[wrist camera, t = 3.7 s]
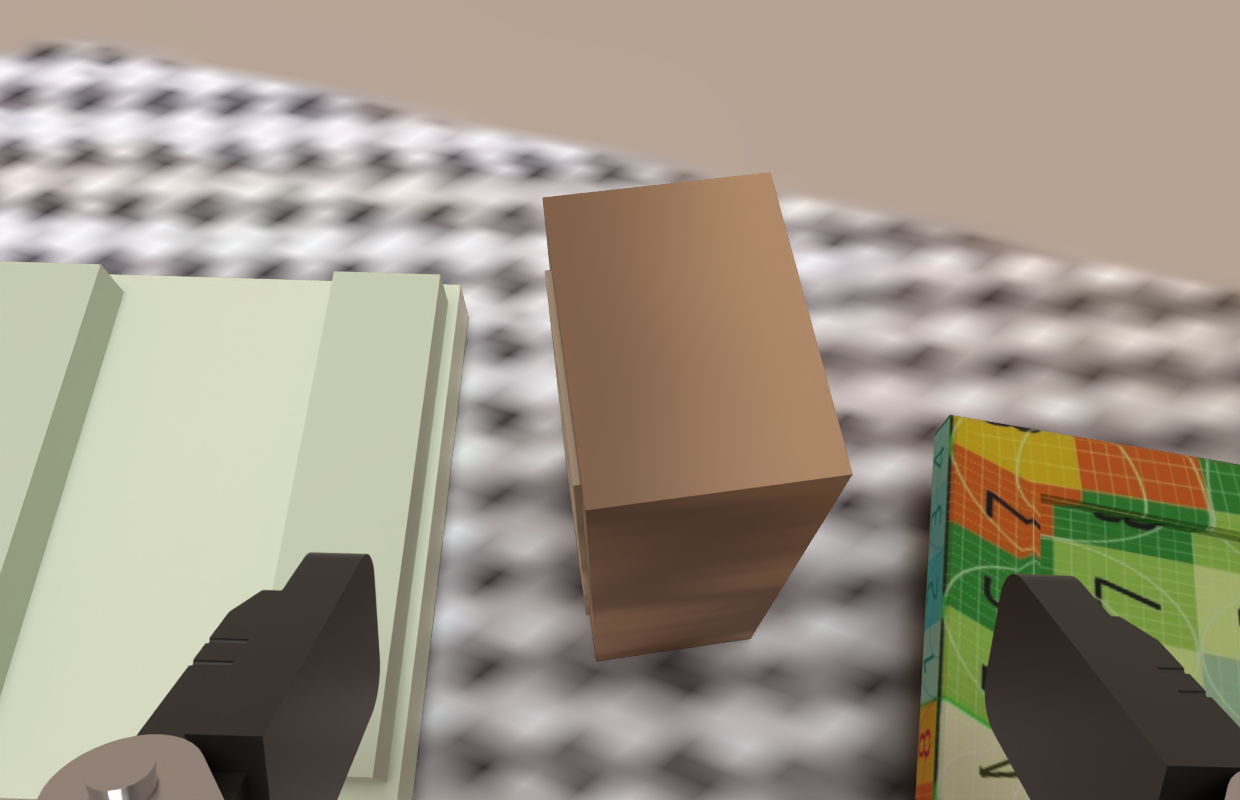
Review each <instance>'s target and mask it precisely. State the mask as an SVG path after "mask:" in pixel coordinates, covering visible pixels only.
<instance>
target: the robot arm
mask: <svg viewBox="0 0 1240 800" xmlns="http://www.w3.org/2000/svg"><path fill="white" fill-rule="evenodd" d="M379 678H380V651H379V636H378V620H377V604H376V589H375V574H374V566H373V562H372V559H371V556H370V555H369V554H356V553H322V552H310V553H308V554H307V555H306V556H305V557H304V558H303V560H302V561H301V563H300V564H299V566H298V567H297V569H296V570H295V572H294V573H293V575H292V576H291V578H290V579H289V581H288V582H287V584H286V585H285V586H284V588H283V589H282V590H262V591H260V592H258V593H257V594H255V595H254V596H252V597H251V598H249V599H248V600H246V601H245V602H243V603H242V604H240V605H239V606H237V607H236V608H234V609H232V610H231V611H229V612H228V614H227V615H226V616H225V618H224V619H223V620H222V622H221V623H220V624H219V626H218V627H217V628H216V630H215V631H214V632H213V634H212V635H211V636H210V638H209V643H205V644H204V646H203V647H202V648H201V650H200V651H199V652H198V654H197V655H196V656H195V658H194V659H193V665H189V666H188V667H187V669H186V670H185V671H184V673H183V674H182V675H181V677H180V678H179V679H178V681H177V682H176V683H175V685H174V686H173V687H172V689H171V690H170V691H169V693H168V694H167V695H166V697H165V698H164V699H163V701H162V702H161V703H160V705H159V706H158V707H157V709H156V710H155V711H154V713H153V714H152V715H151V717H150V718H149V719H148V721H147V722H146V723H145V725H144V726H143V727H142V729H141V730H140V731H139V733H138V734H137V735H136V736H133V737H128V738H123V739H119V740H116V741H112V742H109V743H106V744H104V745H101V746H99V747H96V748H94V749H92V750H90V751H88V752H86V753H84V754H82V755H80V756H79V757H77V758H75V759H74V760H72V761H70V762H69V763H68V764H66V765H65V766H64V767H63V768H61V769H60V770H59V771H58V772H57V773H56V774H55V775H54V776H53V777H52V778H51V779H50V780H49V781H48V782H47V783H46V785H45V786H44V787H43V789H42V791H41V793H40V795H39V796H38V799H37V800H338V797H339V795H340V792H341V790H342V787H343V785H344V782H345V780H346V777H347V775H348V772H349V770H350V767H351V765H352V763H353V760H354V758H355V755H356V753H357V750H358V748H359V745H360V743H361V740H362V738H363V735H364V733H365V730H366V728H367V725H368V723H369V720H370V718H371V716H372V713H373V710H374V707H375V703H376V699H377V694H378V687H379ZM985 705H986V712H987V717H988V720H989V724H990V726H991V729H992V731H993V733H994V735H995V737H996V739H997V741H998V742H999V744H1000V746H1001V748H1002V750H1003V751H1004V753H1005V755H1006V757H1007V759H1008V760H1009V762H1010V764H1011V766H1012V768H1013V770H1014V771H1015V773H1016V775H1017V777H1018V779H1019V780H1020V782H1021V784H1022V786H1023V788H1024V789H1025V791H1026V793H1027V795H1028V797H1029V798H1030V800H1240V727H1239V726H1238V725H1237V724H1236V723H1235V722H1234V721H1233V720H1232V718H1231V717H1230V716H1229V715H1228V714H1227V713H1226V712H1225V711H1224V710H1223V709H1222V708H1221V707H1220V706H1219V705H1218V704H1217V702H1216V701H1215V700H1214V699H1213V698H1212V697H1207V696H1206V691H1205V690H1204V689H1203V687H1202V686H1201V685H1200V684H1199V683H1198V682H1197V681H1196V680H1195V679H1194V678H1193V677H1192V676H1191V675H1190V674H1185V672H1184V667H1183V666H1182V665H1181V664H1180V663H1179V662H1178V661H1177V660H1176V659H1175V658H1174V656H1173V655H1172V654H1171V653H1170V652H1169V651H1168V650H1167V649H1166V648H1165V647H1164V646H1163V645H1162V644H1161V643H1160V642H1159V640H1157V639H1155V638H1154V637H1152V636H1150V635H1149V634H1147V633H1146V632H1144V631H1142V630H1141V629H1139V628H1138V627H1136V626H1134V625H1133V624H1131V623H1129V622H1128V621H1126V620H1125V619H1123V618H1121V617H1120V616H1110V614H1109V613H1108V612H1107V611H1106V610H1105V609H1104V608H1103V607H1102V605H1101V604H1100V603H1099V602H1098V601H1097V600H1096V599H1095V598H1094V596H1093V595H1092V594H1091V593H1090V592H1089V591H1088V590H1087V589H1086V587H1085V586H1084V585H1083V584H1082V583H1081V582H1080V581H1079V580H1078V579H1077V578H1076V577H1074V576H1066V575H1032V574H1011V575H1010V576H1008V577H1007V578H1006V580H1005V582H1004V584H1003V586H1002V589H1001V594H1000V599H999V605H998V610H997V616H996V622H995V627H994V633H993V638H992V644H991V650H990V655H989V661H988V666H987V672H986V678H985Z"/></svg>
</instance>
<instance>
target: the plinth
mask: <svg viewBox="0 0 1240 800" xmlns="http://www.w3.org/2000/svg"><path fill="white" fill-rule="evenodd" d="M468 317H469V316H468V313H467V309H466V305H465V301H464V297H463V293H462V289H461V285H443V282H442V279H441V275H431V274H398V273H365V272H334V274H333V279H332V281H307V280H274V279H241V278H208V277H175V276H142V275H109V274H108V273H107V272H106V270H105V269H104V268H103V267H102V266H101V265H100V264H67V263H34V262H1V261H0V800H37V799H38V796H39V795H40V793H41V791H42V789H43V787H44V786H45V785H46V783H47V782H48V781H49V780H50V779H51V778H52V777H53V776H54V775H55V774H56V773H57V772H58V771H59V770H60V769H61V768H63V767H64V766H65V765H66V764H68V763H69V762H70V761H72V760H74V759H75V758H77V757H79V756H80V755H82V754H84V753H86V752H88V751H90V750H92V749H94V748H96V747H99V746H101V745H104V744H106V743H109V742H112V741H116V740H119V739H123V738H128V737H133V736H136V735H137V734H138V733H139V731H140V730H141V729H142V727H143V726H144V725H145V723H146V722H147V721H148V719H149V718H150V717H151V715H152V714H153V713H154V711H155V710H156V709H157V707H158V706H159V705H160V703H161V702H162V701H163V699H164V698H165V697H166V695H167V694H168V693H169V691H170V690H171V689H172V687H173V686H174V685H175V683H176V682H177V681H178V679H179V678H180V677H181V675H182V674H183V673H184V671H185V670H186V669H187V667H188V666H189V665H193V659H194V658H195V656H196V655H197V654H198V652H199V651H200V650H201V648H202V647H203V646H204V644H205V643H209V638H210V636H211V635H212V634H213V632H214V631H215V630H216V628H217V627H218V626H219V624H220V623H221V622H222V620H223V619H224V618H225V616H226V615H227V614H228V612H229V611H231V610H232V609H234V608H236V607H237V606H239V605H240V604H242V603H243V602H245V601H246V600H248V599H249V598H251V597H252V596H254V595H255V594H257V593H258V592H260V591H262V590H282V589H283V588H284V586H285V585H286V584H287V582H288V581H289V579H290V578H291V576H292V575H293V573H294V572H295V570H296V569H297V567H298V566H299V564H300V563H301V561H302V560H303V558H304V557H305V556H306V555H307V554H308V553H310V552H322V553H356V554H369V555H370V556H371V559H372V562H373V566H374V574H375V589H376V604H377V620H378V636H379V651H380V678H379V687H378V694H377V699H376V703H375V707H374V710H373V713H372V716H371V718H370V720H369V723H368V725H367V728H366V730H365V733H364V735H363V738H362V740H361V743H360V745H359V748H358V750H357V753H356V755H355V758H354V760H353V763H352V765H351V767H350V770H349V772H348V775H347V777H346V780H345V782H344V785H343V787H342V790H341V792H340V795H339V797H338V800H412V798H413V789H414V781H415V772H416V764H417V755H418V746H419V738H420V729H421V721H422V712H423V703H424V695H425V686H426V678H427V669H428V660H429V652H430V643H431V635H432V626H433V617H434V609H435V600H436V592H437V583H438V574H439V566H440V557H441V549H442V540H443V531H444V523H445V514H446V506H447V497H448V489H449V480H450V471H451V463H452V454H453V446H454V437H455V428H456V420H457V411H458V403H459V394H460V385H461V377H462V368H463V360H464V351H465V342H466V334H467V325H468Z"/></svg>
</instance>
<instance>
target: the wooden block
mask: <svg viewBox="0 0 1240 800" xmlns="http://www.w3.org/2000/svg"><path fill="white" fill-rule="evenodd" d="M543 206H544V216H545V226H546V236H547V246H548V255H549V265H550V270H547V271H545V277H546V286H547V295H548V304H549V313H550V322H551V331H552V340H553V349H554V358H555V367H556V376H557V385H558V394H559V403H560V412H561V421H562V430H563V439H564V448H565V457H566V465H567V473H568V480H569V488H570V496H571V503H572V511H573V519H574V526H575V534H576V542H577V549H578V557H579V565H580V572H581V580H582V588H583V595H584V603H585V611H586V615H589V614H590V619H591V626H592V634H593V641H594V649H595V656H596V661H602V660H609V659H616V658H622V657H629V656H636V655H643V654H650V653H656V652H663V651H670V650H677V649H684V648H690V647H697V646H704V645H711V644H718V643H725V642H731V641H738V640H745V639H751V637H752V635H753V634H754V632H755V631H756V629H757V627H758V626H759V624H760V623H761V621H762V619H763V618H764V616H765V615H766V613H767V611H768V610H769V608H770V606H771V605H772V603H773V602H774V600H775V598H776V597H777V595H778V594H779V592H780V590H781V589H782V587H783V586H784V584H785V582H786V581H787V579H788V577H789V576H790V574H791V573H792V571H793V569H794V568H795V566H796V565H797V563H798V561H799V560H800V558H801V557H802V555H803V553H804V552H805V550H806V549H807V547H808V545H809V544H810V542H811V540H812V539H813V537H814V536H815V534H816V532H817V531H818V529H819V528H820V526H821V524H822V523H823V521H824V520H825V518H826V516H827V515H828V513H829V511H830V510H831V508H832V507H833V505H834V503H835V502H836V500H837V499H838V497H839V495H840V494H841V492H842V491H843V489H844V487H845V486H846V484H847V482H848V481H849V479H850V478H851V476H852V470H851V467H850V463H849V459H848V456H847V452H846V448H845V445H844V441H843V437H842V434H841V430H840V426H839V423H838V419H837V415H836V412H835V408H834V404H833V401H832V397H831V393H830V389H829V386H828V382H827V378H826V375H825V371H824V367H823V364H822V360H821V356H820V353H819V349H818V345H817V342H816V338H815V334H814V331H813V327H812V323H811V320H810V316H809V312H808V309H807V305H806V301H805V297H804V294H803V290H802V286H801V283H800V279H799V275H798V272H797V268H796V264H795V261H794V257H793V253H792V250H791V246H790V242H789V239H788V235H787V231H786V228H785V224H784V220H783V217H782V213H781V209H780V206H779V202H778V198H777V194H776V191H775V187H774V183H773V180H772V176H771V173H770V172H769V173H760V174H751V175H742V176H733V177H724V178H715V179H706V180H697V181H688V182H679V183H670V184H661V185H652V186H643V187H634V188H625V189H616V190H607V191H598V192H589V193H580V194H571V195H562V196H553V197H544V198H543Z"/></svg>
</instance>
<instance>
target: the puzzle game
mask: <svg viewBox="0 0 1240 800" xmlns="http://www.w3.org/2000/svg"><path fill="white" fill-rule="evenodd" d="M1011 574H1032V575H1066V576H1074V577H1076V578H1077V579H1078V580H1079V581H1080V582H1081V583H1082V584H1083V585H1084V586H1085V587H1086V589H1087V590H1088V591H1089V592H1090V593H1091V594H1092V595H1093V596H1094V598H1095V599H1096V600H1097V601H1098V602H1099V603H1100V604H1101V605H1102V607H1103V608H1104V609H1105V610H1106V611H1107V612H1108V613H1109V614H1110V616H1120V617H1121V618H1123V619H1125V620H1126V621H1128V622H1129V623H1131V624H1133V625H1134V626H1136V627H1138V628H1139V629H1141V630H1142V631H1144V632H1146V633H1147V634H1149V635H1150V636H1152V637H1154V638H1155V639H1157V640H1159V642H1160V643H1161V644H1162V645H1163V646H1164V647H1165V648H1166V649H1167V650H1168V651H1169V652H1170V653H1171V654H1172V655H1173V656H1174V658H1175V659H1176V660H1177V661H1178V662H1179V663H1180V664H1181V665H1182V666H1183V667H1184V672H1185V674H1190V675H1191V676H1192V677H1193V678H1194V679H1195V680H1196V681H1197V682H1198V683H1199V684H1200V685H1201V686H1202V687H1203V689H1204V690H1205V691H1206V696H1207V697H1212V698H1213V699H1214V700H1215V701H1216V702H1217V704H1218V705H1219V706H1220V707H1221V708H1222V709H1223V710H1224V711H1225V712H1226V713H1227V714H1228V715H1229V716H1230V717H1231V718H1232V720H1233V721H1234V722H1235V723H1236V724H1237V725H1238V726H1239V727H1240V465H1239V464H1233V463H1227V462H1221V461H1215V460H1210V459H1204V458H1198V457H1192V456H1186V455H1180V454H1175V453H1169V452H1163V451H1157V450H1151V449H1146V448H1140V447H1134V446H1128V445H1122V444H1116V443H1111V442H1105V441H1099V440H1093V439H1087V438H1082V437H1076V436H1070V435H1064V434H1058V433H1052V432H1047V431H1041V430H1035V429H1029V428H1023V427H1018V426H1012V425H1006V424H1000V423H994V422H988V421H983V420H977V419H971V418H965V417H959V416H954V415H949V417H948V418H947V419H946V421H945V422H944V423H943V425H942V426H941V427H940V428H939V430H938V431H937V432H936V434H935V440H934V459H933V478H932V497H931V516H930V534H929V553H928V572H927V591H926V610H925V629H924V647H923V666H922V685H921V704H920V723H919V741H918V760H917V779H916V798H915V800H1030V798H1029V797H1028V795H1027V793H1026V791H1025V789H1024V788H1023V786H1022V784H1021V782H1020V780H1019V779H1018V777H1017V775H1016V773H1015V771H1014V770H1013V768H1012V766H1011V764H1010V762H1009V760H1008V759H1007V757H1006V755H1005V753H1004V751H1003V750H1002V748H1001V746H1000V744H999V742H998V741H997V739H996V737H995V735H994V733H993V731H992V729H991V726H990V724H989V720H988V717H987V712H986V705H985V678H986V672H987V666H988V661H989V655H990V650H991V644H992V638H993V633H994V627H995V622H996V616H997V610H998V605H999V599H1000V594H1001V589H1002V586H1003V584H1004V582H1005V580H1006V578H1007V577H1008V576H1010V575H1011Z"/></svg>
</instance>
